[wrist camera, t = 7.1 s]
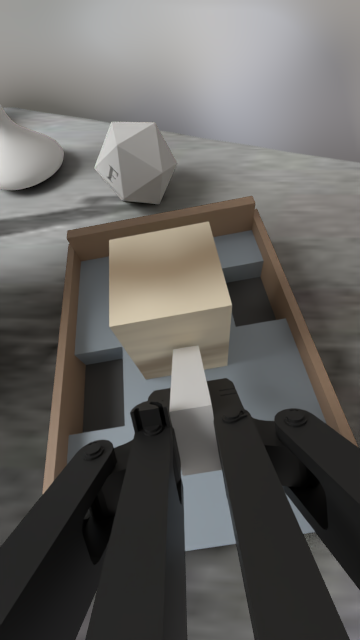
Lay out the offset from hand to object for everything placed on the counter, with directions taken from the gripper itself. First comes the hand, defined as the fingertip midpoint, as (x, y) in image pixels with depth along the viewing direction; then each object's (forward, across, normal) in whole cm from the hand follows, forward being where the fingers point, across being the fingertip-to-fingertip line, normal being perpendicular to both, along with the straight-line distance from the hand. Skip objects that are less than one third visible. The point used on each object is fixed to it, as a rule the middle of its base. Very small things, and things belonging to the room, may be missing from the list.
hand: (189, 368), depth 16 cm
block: (+6, 0, 0) cm, 6 cm away
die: (+23, -2, +14) cm, 27 cm away
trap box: (+7, -1, -2) cm, 7 cm away
